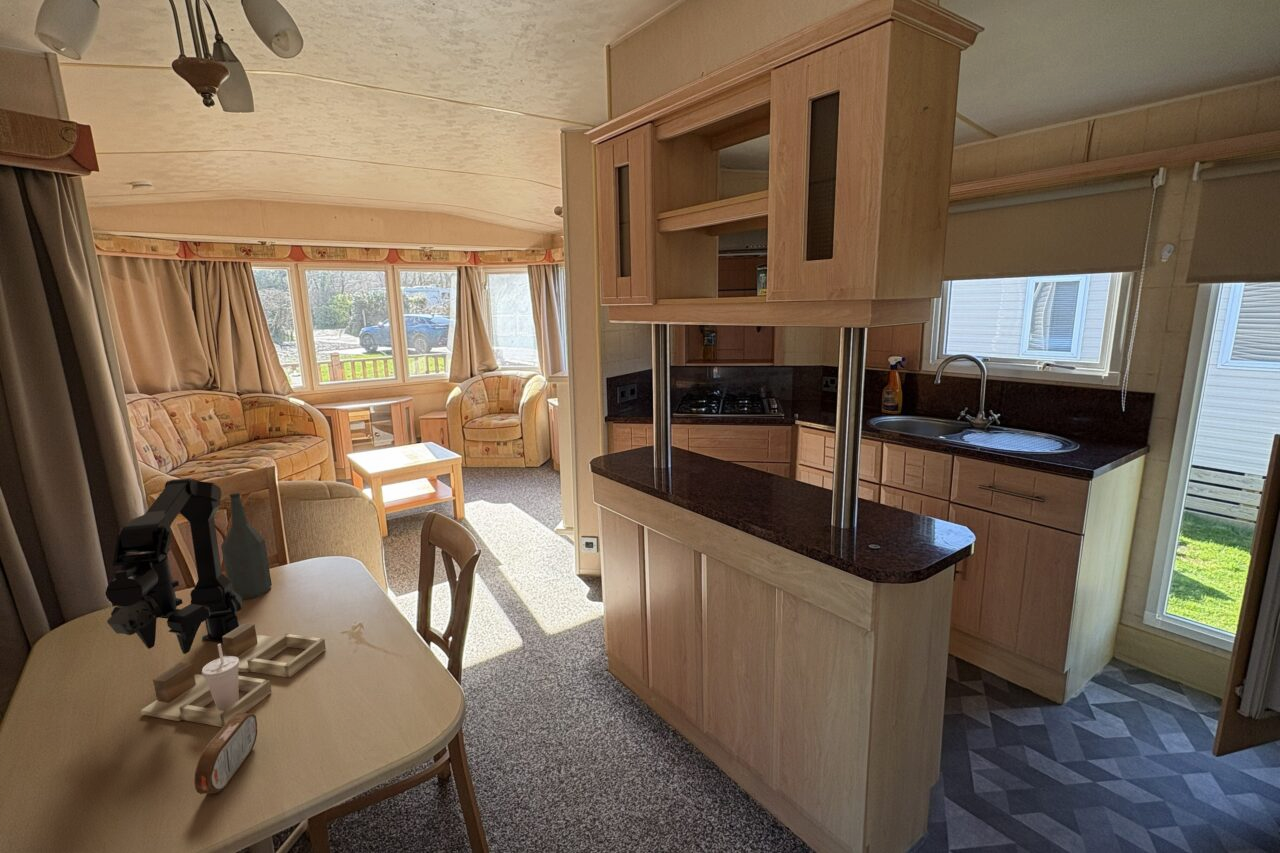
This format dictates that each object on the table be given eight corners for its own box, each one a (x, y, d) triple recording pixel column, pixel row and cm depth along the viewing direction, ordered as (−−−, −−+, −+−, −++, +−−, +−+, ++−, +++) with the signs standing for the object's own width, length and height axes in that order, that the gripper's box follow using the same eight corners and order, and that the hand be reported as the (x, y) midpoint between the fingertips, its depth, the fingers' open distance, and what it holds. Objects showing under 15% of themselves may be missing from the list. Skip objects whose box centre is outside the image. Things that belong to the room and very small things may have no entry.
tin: (246, 740, 114) (239, 702, 112) (264, 739, 114) (257, 701, 113) (196, 806, 99) (187, 763, 98) (216, 805, 100) (207, 762, 98)
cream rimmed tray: (141, 714, 121) (135, 688, 120) (196, 678, 133) (191, 654, 131) (224, 729, 117) (218, 702, 115) (273, 690, 128) (269, 665, 127)
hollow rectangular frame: (212, 667, 137) (208, 643, 135) (256, 638, 148) (252, 616, 147) (288, 678, 132) (284, 654, 131) (327, 648, 143) (324, 625, 142)
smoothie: (253, 696, 127) (243, 637, 123) (230, 717, 120) (219, 656, 117) (225, 695, 127) (214, 636, 124) (201, 716, 121) (189, 654, 118)
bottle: (226, 592, 172) (208, 493, 165) (264, 580, 179) (249, 484, 172) (236, 604, 165) (218, 501, 158) (276, 591, 172) (260, 492, 165)
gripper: (74, 596, 115) (91, 667, 119) (150, 606, 111) (166, 680, 115) (133, 570, 126) (148, 636, 129) (205, 579, 122) (218, 647, 125)
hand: (168, 650), depth 124 cm, fingers open, 9 cm apart
